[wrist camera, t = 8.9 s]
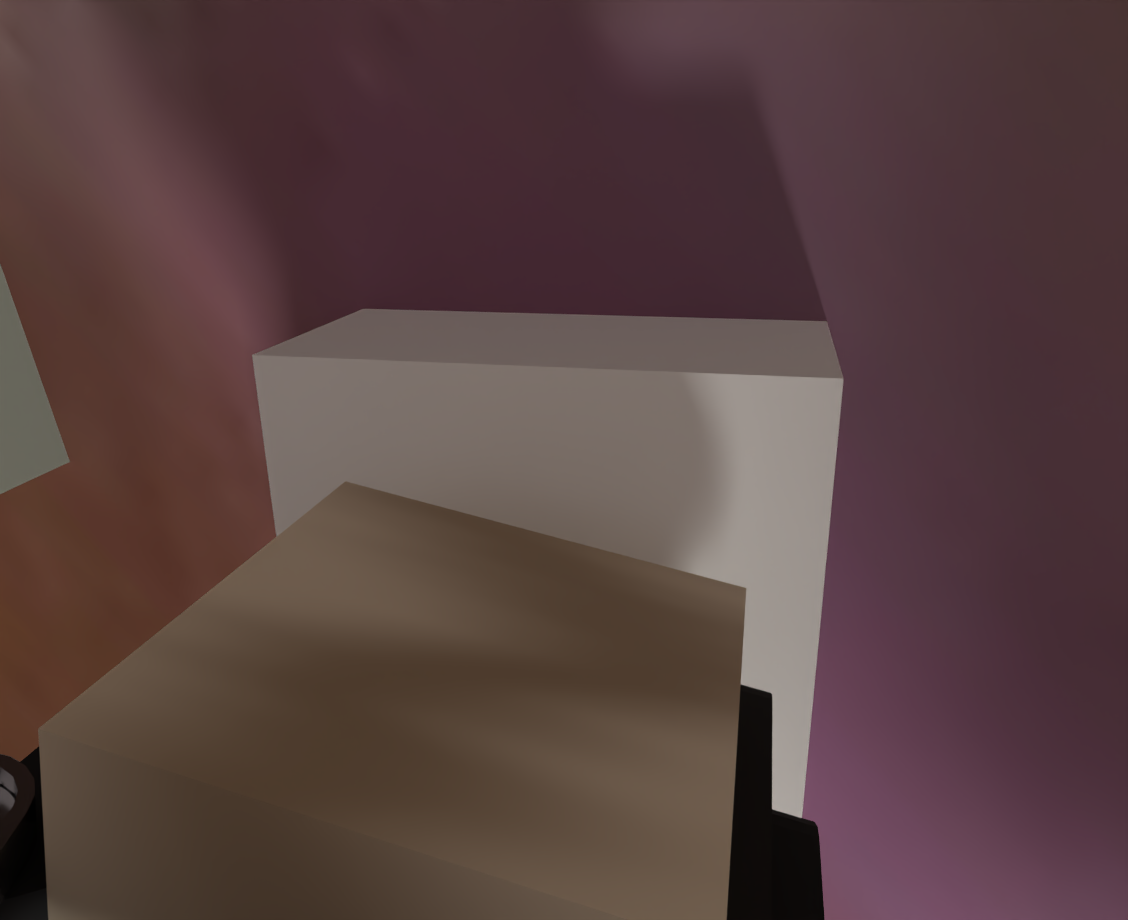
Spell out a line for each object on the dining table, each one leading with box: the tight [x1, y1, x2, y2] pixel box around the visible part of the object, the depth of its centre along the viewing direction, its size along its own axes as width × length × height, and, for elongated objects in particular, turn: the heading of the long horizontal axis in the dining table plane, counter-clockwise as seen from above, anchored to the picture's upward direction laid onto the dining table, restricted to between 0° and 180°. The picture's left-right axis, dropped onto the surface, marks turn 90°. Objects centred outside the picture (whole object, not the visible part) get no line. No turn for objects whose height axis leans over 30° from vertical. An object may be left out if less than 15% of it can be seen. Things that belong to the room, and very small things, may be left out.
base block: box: [252, 309, 844, 818], centre depth 15 cm, size 8×8×4 cm
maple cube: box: [38, 481, 746, 920], centre depth 9 cm, size 5×5×5 cm
